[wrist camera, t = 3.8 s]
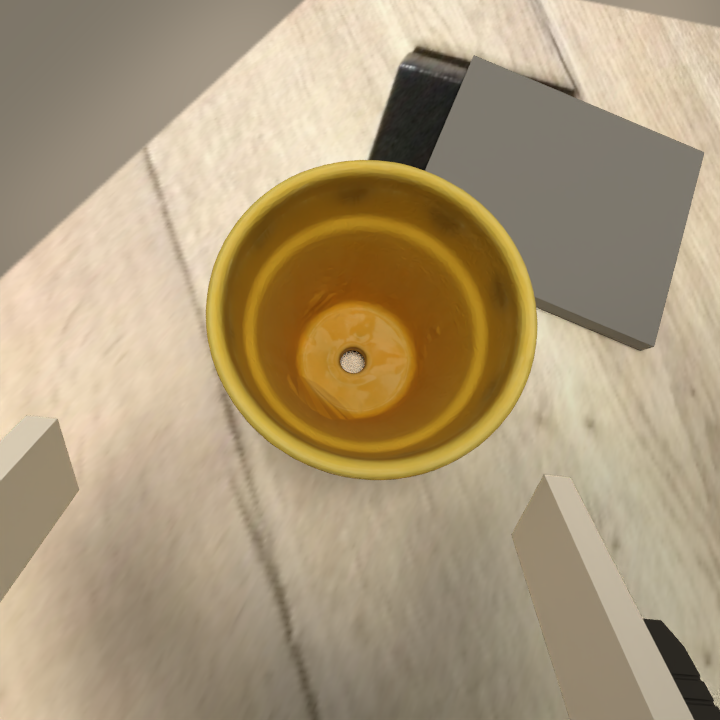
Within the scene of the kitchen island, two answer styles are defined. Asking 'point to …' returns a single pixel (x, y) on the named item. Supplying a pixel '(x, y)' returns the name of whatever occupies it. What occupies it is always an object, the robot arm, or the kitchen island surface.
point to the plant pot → (371, 319)
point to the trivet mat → (573, 197)
